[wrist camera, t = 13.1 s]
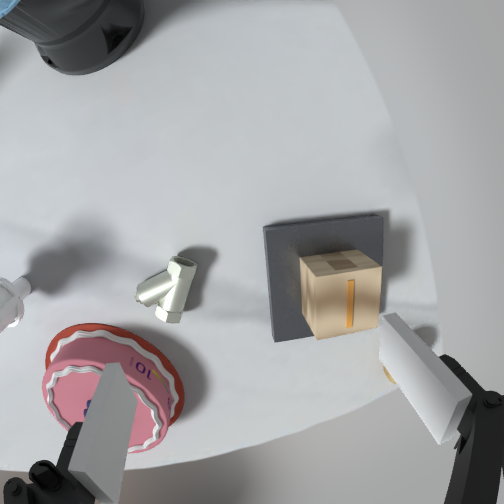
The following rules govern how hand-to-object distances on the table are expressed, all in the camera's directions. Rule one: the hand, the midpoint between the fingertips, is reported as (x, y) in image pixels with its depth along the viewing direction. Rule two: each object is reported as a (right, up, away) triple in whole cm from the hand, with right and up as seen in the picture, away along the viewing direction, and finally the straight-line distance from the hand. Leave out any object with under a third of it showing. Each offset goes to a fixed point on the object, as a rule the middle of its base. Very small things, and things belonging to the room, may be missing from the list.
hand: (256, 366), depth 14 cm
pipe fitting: (-12, +2, +27) cm, 29 cm away
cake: (-24, -17, +31) cm, 43 cm away
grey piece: (+10, +2, +29) cm, 31 cm away
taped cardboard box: (+10, +1, +27) cm, 29 cm away
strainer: (-35, 0, +24) cm, 43 cm away
